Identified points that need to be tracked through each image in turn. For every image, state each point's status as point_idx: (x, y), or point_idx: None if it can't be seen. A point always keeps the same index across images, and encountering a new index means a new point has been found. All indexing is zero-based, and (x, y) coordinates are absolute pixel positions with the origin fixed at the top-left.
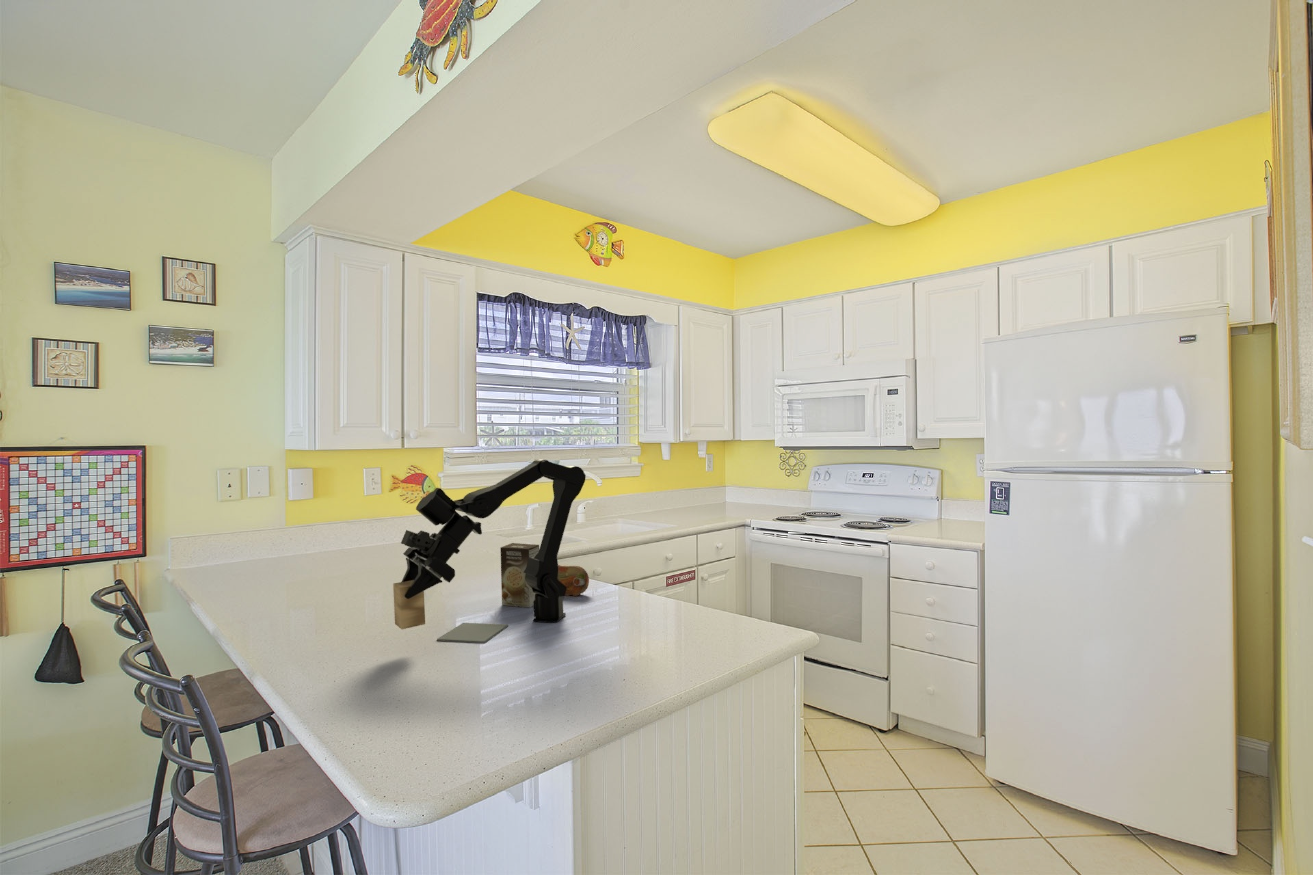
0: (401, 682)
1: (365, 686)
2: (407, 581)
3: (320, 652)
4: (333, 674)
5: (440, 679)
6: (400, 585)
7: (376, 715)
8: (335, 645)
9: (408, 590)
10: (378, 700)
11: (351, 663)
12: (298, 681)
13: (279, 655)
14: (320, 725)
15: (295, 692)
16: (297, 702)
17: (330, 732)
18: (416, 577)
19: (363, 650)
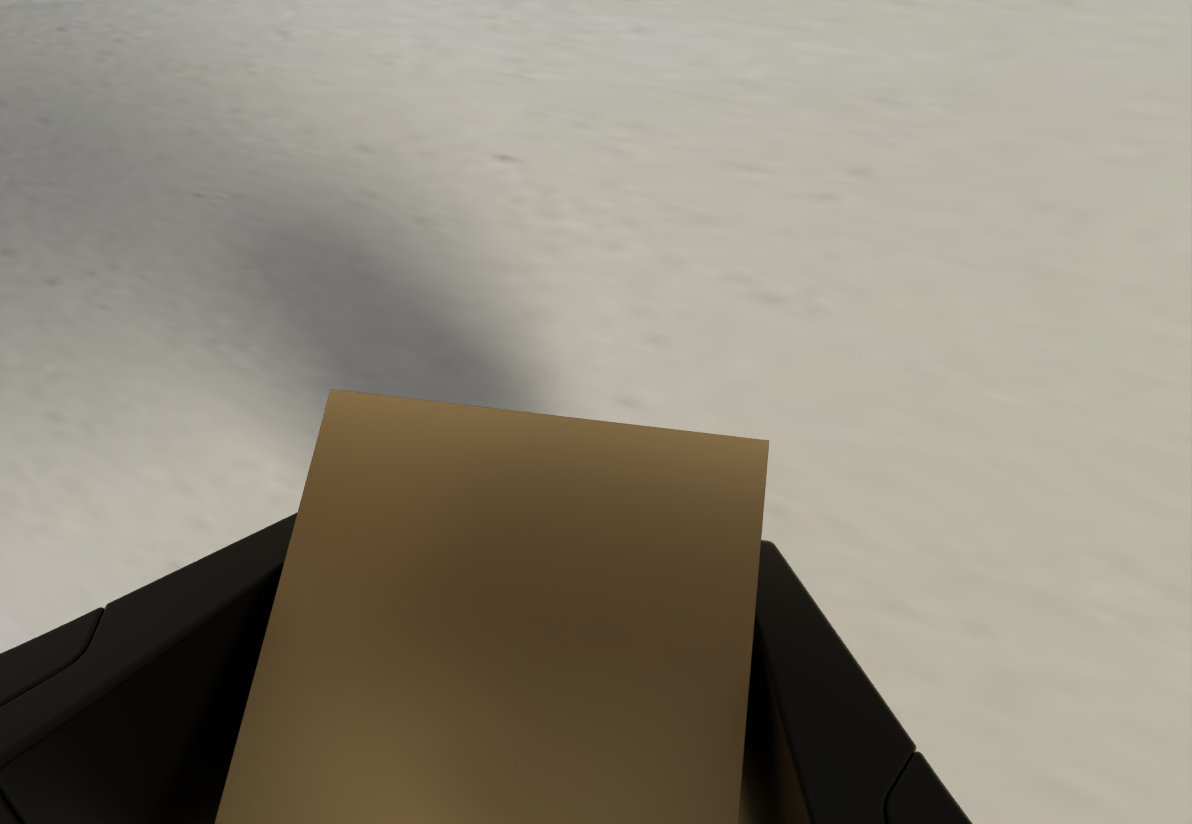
0: (211, 365)
1: (317, 233)
2: (697, 732)
3: (1051, 216)
4: (600, 175)
5: (68, 516)
6: (484, 469)
7: (17, 174)
8: (1143, 317)
9: (282, 524)
10: (129, 223)
11: (694, 283)
12: (642, 47)
13: (1169, 49)
14: (128, 23)
15: (515, 17)
16: (400, 5)
17: (50, 34)
18: (32, 704)
19: (884, 408)
